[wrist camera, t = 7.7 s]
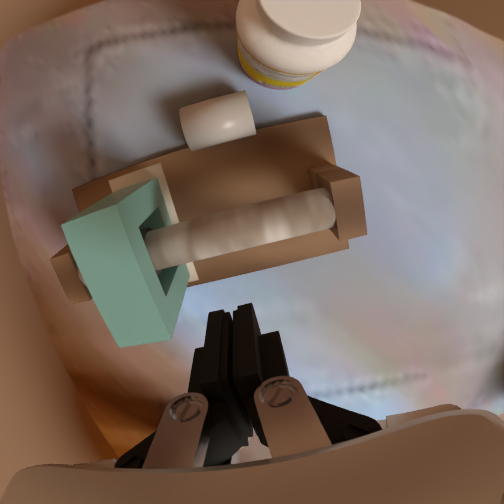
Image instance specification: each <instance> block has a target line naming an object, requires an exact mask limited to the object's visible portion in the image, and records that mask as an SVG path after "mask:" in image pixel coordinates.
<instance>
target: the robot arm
mask: <svg viewBox="0 0 504 504" xmlns="http://www.w3.org/2000/svg"><path fill="white" fill-rule="evenodd" d="M253 428H254V430H255V433H256V435H257V436H258V437H259V440H260V442H261V444H263V445H265V446H267V447H269V450H270V453H271V456H272V458H270V459H265V460H258V461H252V462H245V463H240V450H241V449H242V448H243V447H245V446H248V442H249V440H250V437H252V436H253ZM0 504H504V421H503V420H502V419H501V418H500V417H498V416H497V415H495V414H493V413H491V412H489V411H486V410H481V409H461V408H459V407H458V406H456V405H452V404H444V405H439V406H435V407H430V408H426V409H421V410H417V411H412V412H407V413H402V414H396V415H390V416H386V420H379V421H376V420H375V419H372V418H370V417H368V416H365V415H362V414H358V413H355V412H352V411H349V410H346V409H343V408H340V407H337V406H335V405H332V404H329V403H326V402H323V401H321V400H318V399H315V398H312V397H310V396H307V394H306V392H305V390H304V388H303V386H302V385H301V383H300V382H299V381H298V380H297V379H295V378H293V377H290V376H289V372H288V367H287V363H286V358H285V354H284V350H283V346H282V342H281V338H280V334H279V331H275V332H271V333H267V334H262V335H261V332H260V328H259V325H258V322H257V318H256V315H255V311H254V308H253V305H252V303H248V304H244V305H240V306H238V310H235V311H233V320H232V317H231V314H230V312H226V313H225V312H224V310H223V309H222V310H218V311H214V312H209V315H208V321H207V329H206V336H205V343H204V347H201V348H196V349H195V352H194V357H193V363H192V369H191V375H190V382H189V388H188V393H184V394H181V395H179V396H177V397H175V398H174V399H172V400H171V401H170V402H169V403H168V405H167V407H166V408H165V411H164V413H163V416H162V418H161V421H160V423H159V426H158V428H157V430H156V431H155V432H154V433H152V434H151V435H150V436H148V437H147V438H146V439H144V440H143V441H141V442H140V443H139V444H137V445H136V446H135V447H133V448H132V449H130V450H129V451H128V452H126V453H125V454H123V455H122V456H121V457H120V458H119V459H118V461H116V460H115V459H109V460H103V461H96V462H89V463H81V464H73V465H68V464H43V465H35V466H31V467H27V468H25V469H22V470H20V471H18V472H17V473H16V474H15V475H14V476H13V477H12V478H11V480H10V482H9V483H8V485H7V487H6V489H5V491H4V493H3V495H2V497H1V500H0Z"/></svg>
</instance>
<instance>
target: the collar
mask: <svg viewBox="0 0 504 504" xmlns="http://www.w3.org/2000/svg"><path fill="white" fill-rule="evenodd" d="M170 225H172V222H171V219H170V216H169V213H168V210H167V207H166V204H165V201H164V197H163V194H162V191H161V188H160V185H159V182H158V178H157V177H155V178H152V179H149V180H146V181H143V182H140V183H137V184H134V185H131V186H128V187H126V188H123V189H120V190H117V191H114V192H113V193H111V194H109V195H108V196H106V197H104V198H103V199H101V200H99V201H98V202H96V203H94V204H93V205H91V206H89V207H88V208H86V209H85V210H83V211H81V212H80V213H78V214H77V215H75V216H74V217H72V218H70V219H69V220H67V221H66V222H64V223H63V224H61V227H62V230H63V232H64V235H65V237H66V240H67V242H68V245H69V247H70V250H71V252H72V254H73V257H74V259H75V261H76V264H77V266H78V268H79V270H80V272H81V275H82V277H83V279H84V281H85V283H86V285H87V287H88V290H89V292H90V294H91V296H92V298H93V300H94V302H95V304H96V306H97V308H98V310H99V312H100V313H101V315H102V317H103V319H104V321H105V323H106V325H107V327H108V328H109V330H110V332H111V334H112V336H113V337H114V339H115V341H116V343H117V344H118V346H119V348H121V347H128V346H134V345H141V344H147V343H154V342H160V341H166V340H171V339H172V336H173V333H174V329H175V326H176V322H177V318H178V315H179V311H180V308H181V305H182V301H183V298H184V294H185V291H186V288H187V284H188V281H189V278H190V274H189V271H188V268H187V265H186V263H185V264H181V265H177V266H173V267H169V268H165V269H162V272H161V273H160V274H158V275H157V274H156V272H155V269H154V267H153V264H152V261H151V259H150V256H149V254H148V251H147V249H146V246H145V243H144V241H143V238H142V235H141V232H140V229H144V228H147V227H149V228H151V229H152V230H155V229H159V228H162V227H166V226H170Z"/></svg>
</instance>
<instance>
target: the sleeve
mask: <svg viewBox="0 0 504 504" xmlns="http://www.w3.org/2000/svg"><path fill="white" fill-rule="evenodd" d="M179 115H180V121H181V126H182V130H183V133H184V136H185V139H186V142H187V144H188V146H189V148H190V150H191V151H195V150H199V149H202V148H206V147H209V146H213V145H217V144H220V143H224V142H228V141H232V140H236V139H240V138H244V137H248V136H252V135H256V129H255V125H254V120H253V116H252V112H251V108H250V105H249V101H248V98H247V95H246V92H245V90H244V91H240V92H235V93H231V94H227V95H223V96H220V97H216V98H212V99H209V100H205V101H202V102H198V103H195V104H191V105H188V106H185V107H182V108H180V109H179Z"/></svg>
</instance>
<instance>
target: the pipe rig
mask: <svg viewBox="0 0 504 504" xmlns="http://www.w3.org/2000/svg"><path fill="white" fill-rule="evenodd" d="M155 177H157V178H158V182H159V185H160V188H161V191H162V194H163V197H164V201H165V204H166V207H167V210H168V213H169V216H170V219H171V222H172V225H170V226H166V227H162V228H159V229H155V230H152V229H151V228H149V227H147V228H144V229H140V232H141V235H142V238H143V241H144V243H145V246H146V249H147V251H148V254H149V256H150V259H151V261H152V264H153V267H154V269H155V272H156V274H157V275H158V274H160V273H161V272H162V269H165V268H169V267H173V266H177V265H181V264H185V263H186V265H187V268H188V271H189V274H190V278H189V281H188V284H187V287H190V286H194V285H199V284H203V283H208V282H212V281H216V280H221V279H225V278H229V277H233V276H238V275H242V274H246V273H250V272H255V271H259V270H263V269H267V268H271V267H276V266H280V265H284V264H288V263H292V262H296V261H300V260H304V259H308V258H313V257H317V256H321V255H325V254H329V253H333V252H337V251H341V250H345V249H349V244H348V239H352V238H356V237H360V236H364V235H367V228H366V219H365V210H364V203H363V195H362V188H361V181H360V176H358V175H356V174H354V173H351V172H349V171H347V170H345V169H342V168H340V167H338V166H336V161H335V156H334V150H333V145H332V141H331V136H330V131H329V126H328V122H327V117H326V116H320V117H315V118H309V119H304V120H298V121H293V122H288V123H283V124H279V125H274V126H269V127H265V128H260V129H256V135H252V136H248V137H244V138H240V139H236V140H232V141H228V142H224V143H220V144H217V145H213V146H209V147H206V148H202V149H199V150H195V151H191V150H190V148H189V147H188V148H185V149H182V150H178V151H175V152H172V153H169V154H166V155H163V156H160V157H157V158H154V159H151V160H148V161H145V162H142V163H139V164H136V165H133V166H131V167H128V168H125V169H122V170H120V171H117V172H114V173H112V174H109V175H107V176H104V177H101V178H99V179H96V180H94V181H91V182H89V183H86V184H84V185H82V186H79V187H77V188H75V189H72V191H73V194H74V197H75V200H76V203H77V206H78V209H79V211H80V212H81V211H83V210H85V209H86V208H88V207H89V206H91V205H93V204H94V203H96V202H98V201H99V200H101V199H103V198H104V197H106V196H108V195H109V194H111V193H113V192H114V191H117V190H120V189H123V188H126V187H128V186H131V185H134V184H137V183H140V182H143V181H146V180H149V179H152V178H155ZM50 261H51V263H52V265H53V268H54V270H55V272H56V274H57V276H58V279H59V281H60V283H61V285H62V287H63V289H64V291H65V293H66V295H67V297H68V299H69V301H70V303H71V304H76V303H80V302H85V301H89V300H91V299H92V296H91V294H90V292H89V290H88V287H87V285H86V283H85V281H84V279H83V277H82V275H81V272H80V270H79V268H78V266H77V264H76V261H75V259H74V257H73V254H72V252H71V250H70V247H69V245H68V244H67V245H66V246H65V247H64V248H63V249H61V250H60V251H59V252H58V253H57V254H55V255H54V256H53V257H52V258H51V259H50Z"/></svg>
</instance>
